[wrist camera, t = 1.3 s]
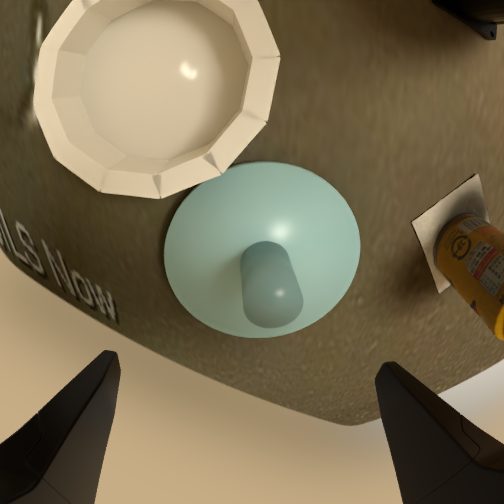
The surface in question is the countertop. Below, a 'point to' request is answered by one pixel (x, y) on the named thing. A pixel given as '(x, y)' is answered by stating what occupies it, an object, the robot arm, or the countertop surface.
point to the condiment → (466, 251)
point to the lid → (262, 249)
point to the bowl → (154, 90)
